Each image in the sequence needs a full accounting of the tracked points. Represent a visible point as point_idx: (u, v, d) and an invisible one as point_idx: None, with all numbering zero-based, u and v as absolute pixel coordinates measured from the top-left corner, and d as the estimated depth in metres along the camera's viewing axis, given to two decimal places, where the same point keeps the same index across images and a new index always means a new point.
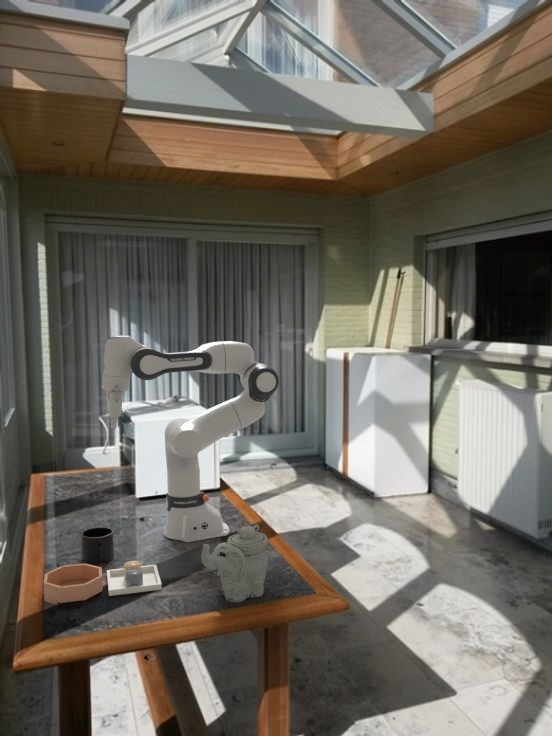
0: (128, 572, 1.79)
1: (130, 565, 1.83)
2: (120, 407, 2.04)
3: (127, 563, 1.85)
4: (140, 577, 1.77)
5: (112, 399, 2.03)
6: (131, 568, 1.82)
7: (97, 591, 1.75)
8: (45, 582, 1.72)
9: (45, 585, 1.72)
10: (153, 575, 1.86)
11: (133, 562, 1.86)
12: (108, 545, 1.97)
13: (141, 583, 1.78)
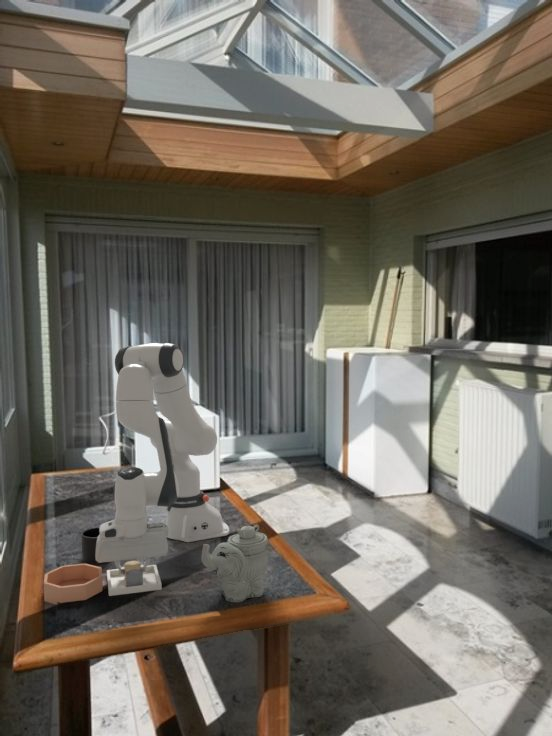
0: (128, 572, 1.79)
1: (130, 565, 1.83)
2: None
3: (127, 563, 1.85)
4: (140, 577, 1.77)
5: None
6: (131, 568, 1.82)
7: (97, 591, 1.75)
8: (45, 582, 1.72)
9: (45, 585, 1.72)
10: (153, 575, 1.86)
11: (133, 562, 1.86)
12: None
13: (141, 583, 1.78)
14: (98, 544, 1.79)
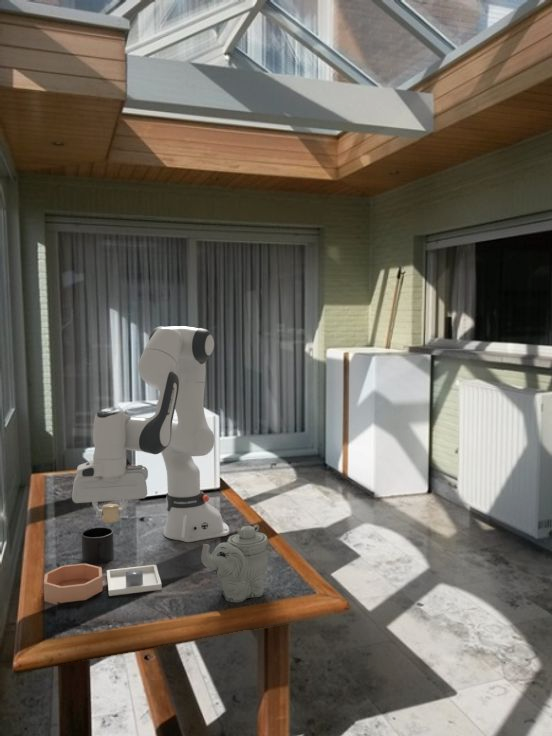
0: (128, 572, 1.79)
1: (108, 507, 1.79)
2: None
3: (105, 505, 1.81)
4: (140, 577, 1.77)
5: (145, 479, 1.82)
6: (109, 509, 1.78)
7: (97, 591, 1.75)
8: (45, 582, 1.72)
9: (45, 585, 1.72)
10: (153, 575, 1.86)
11: (111, 505, 1.82)
12: (108, 545, 1.97)
13: (141, 583, 1.78)
14: (75, 483, 1.75)
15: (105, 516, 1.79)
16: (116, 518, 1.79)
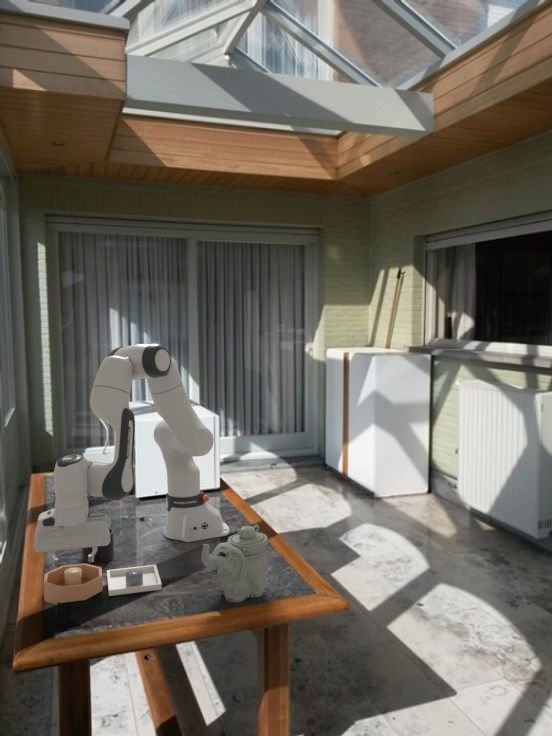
0: (128, 572, 1.79)
1: (70, 573, 1.78)
2: None
3: (68, 570, 1.80)
4: (140, 577, 1.77)
5: (108, 526, 1.80)
6: (71, 575, 1.77)
7: (97, 591, 1.75)
8: (45, 582, 1.72)
9: (45, 585, 1.72)
10: (153, 575, 1.86)
11: (74, 569, 1.81)
12: (108, 545, 1.97)
13: (141, 583, 1.78)
14: (36, 533, 1.74)
15: (67, 582, 1.78)
16: (78, 583, 1.79)
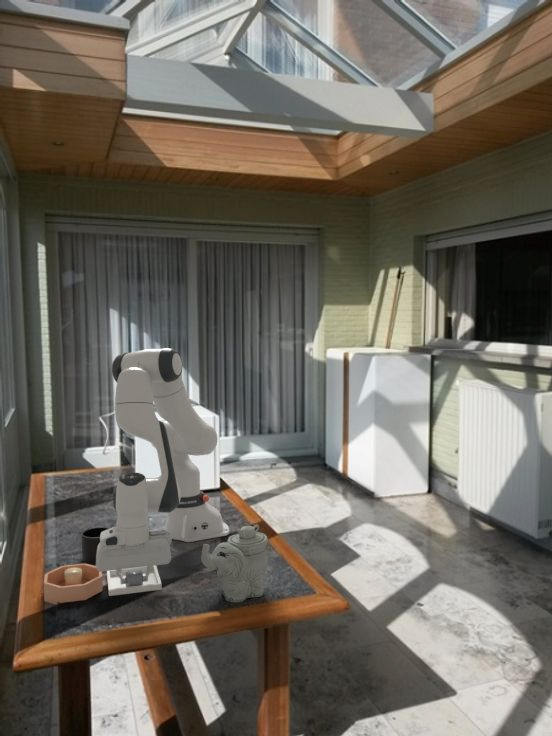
0: (128, 572, 1.79)
1: (70, 573, 1.78)
2: None
3: (68, 570, 1.80)
4: (140, 577, 1.77)
5: (169, 544, 1.79)
6: (71, 575, 1.77)
7: (97, 591, 1.75)
8: (45, 582, 1.72)
9: (45, 585, 1.72)
10: (153, 575, 1.86)
11: (74, 569, 1.81)
12: None
13: (141, 583, 1.78)
14: (99, 552, 1.73)
15: (67, 582, 1.78)
16: (78, 583, 1.79)
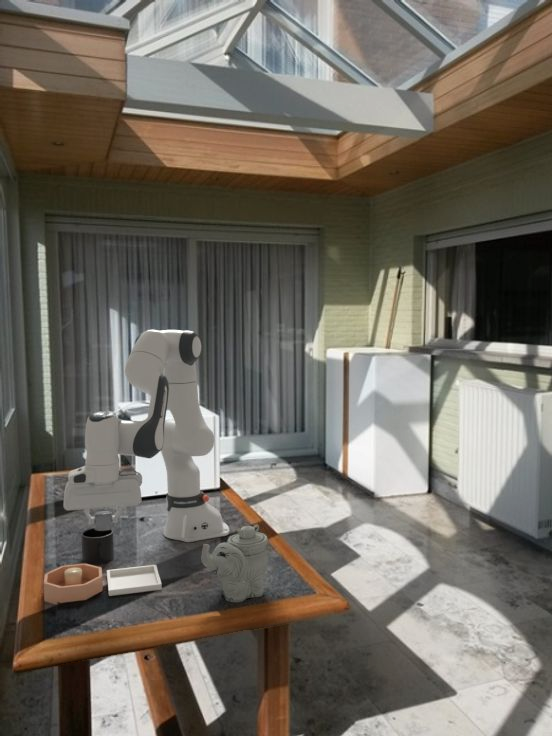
0: (97, 513, 1.74)
1: (70, 573, 1.78)
2: None
3: (68, 570, 1.80)
4: (109, 517, 1.73)
5: (139, 485, 1.75)
6: (71, 575, 1.77)
7: (97, 591, 1.75)
8: (45, 582, 1.72)
9: (45, 585, 1.72)
10: (153, 575, 1.86)
11: (74, 569, 1.81)
12: (108, 545, 1.97)
13: (110, 524, 1.74)
14: (66, 490, 1.69)
15: (67, 582, 1.78)
16: (79, 583, 1.79)
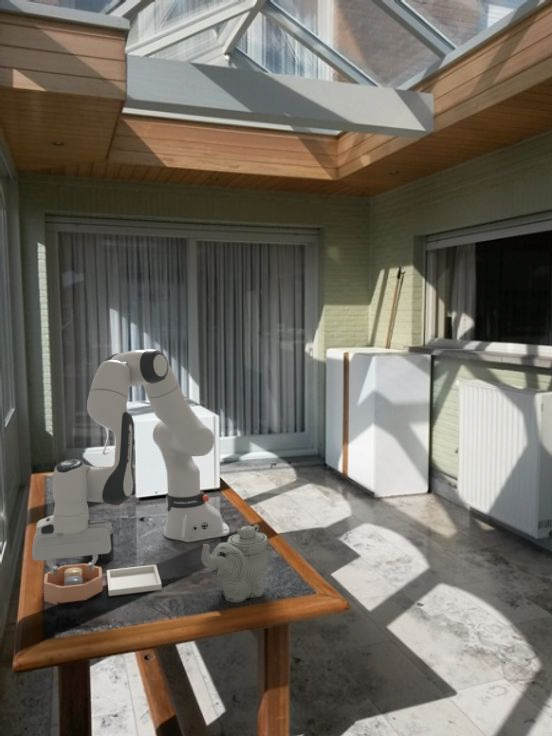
0: (67, 579, 1.74)
1: (70, 573, 1.78)
2: None
3: (68, 570, 1.80)
4: None
5: (108, 533, 1.74)
6: (72, 575, 1.77)
7: (97, 591, 1.75)
8: (45, 582, 1.72)
9: (45, 585, 1.72)
10: (153, 575, 1.86)
11: (74, 569, 1.81)
12: None
13: None
14: (34, 541, 1.68)
15: None
16: None
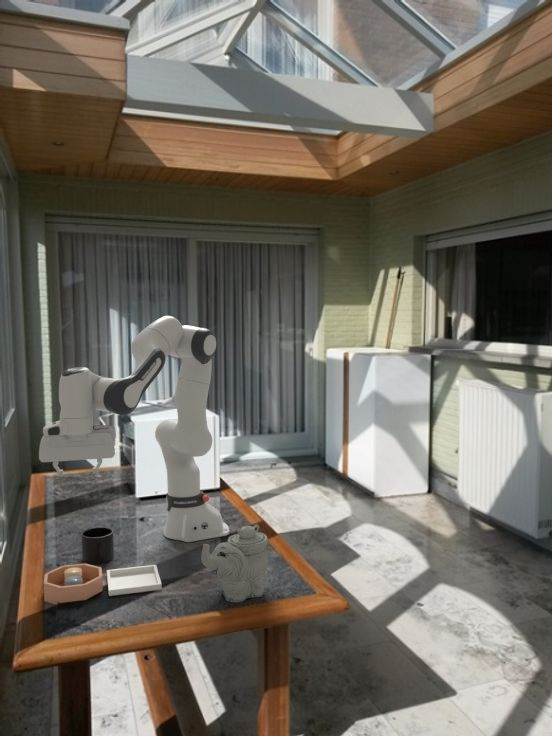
0: (67, 579, 1.74)
1: (70, 573, 1.78)
2: None
3: (67, 570, 1.80)
4: None
5: (112, 438, 1.81)
6: (72, 575, 1.77)
7: (97, 591, 1.75)
8: (45, 582, 1.72)
9: (45, 585, 1.72)
10: (153, 575, 1.86)
11: (74, 569, 1.81)
12: (108, 545, 1.97)
13: None
14: (41, 442, 1.75)
15: None
16: None
